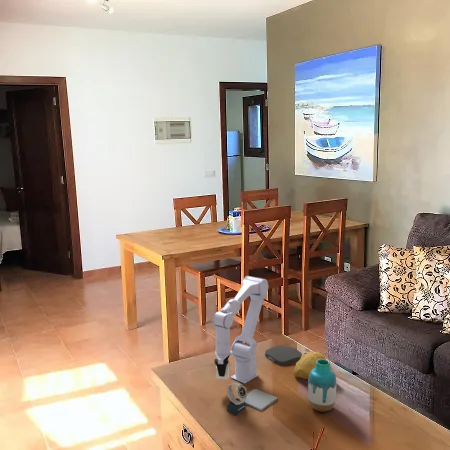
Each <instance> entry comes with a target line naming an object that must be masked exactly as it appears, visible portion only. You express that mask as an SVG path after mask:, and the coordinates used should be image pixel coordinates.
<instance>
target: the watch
mask: <svg viewBox="0 0 450 450" xmlns="http://www.w3.org/2000/svg"><path fill="white" fill-rule="evenodd" d="M232 386H234V389H235V395H236V397H235V395H234V392H233V388H232ZM226 391H227V392H226V393H227V396H228V398H229V400H230V402H228V403H227V404H226V405H227V406H226V408H227V409H226V411H227V412H228V413H230V414H232V415H234V416H237V415H239V414H240V413H242V412H244V411H245V410H246V404H245V402H244V401H245V400H246V396H247V394H248V389H247V387H246V386H244V385H243V384H242V382H239V381H233V382H231V383H229V385H228V386H227V390H226Z"/></svg>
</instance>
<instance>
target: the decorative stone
mask: <svg viewBox="0 0 450 450" xmlns="http://www.w3.org/2000/svg"><path fill="white" fill-rule="evenodd" d="M318 359H326V357H325V356H324V355H323V354H322V353H321V352H317V351H313V350H312V351H309V352H308V353H304V354H302V356H301V359H300V360H299V361H298V362H295V367H294V370H293V376H294V378H302V379H304V380H308V379H309V374H310V372H311V370H312V369H314V368H315V366H316V361H317V360H318ZM326 360H327V359H326ZM330 369H331V370H332V371H333V372H334V369H333V368H332V366H331V365H330Z"/></svg>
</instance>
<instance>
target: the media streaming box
mask: <svg viewBox="0 0 450 450" xmlns="http://www.w3.org/2000/svg"><path fill="white" fill-rule="evenodd" d="M302 353H303V352H301V351H299V350H298V349H296V348H295V347H292V346H289V345H275V346H272V347H270V348H267V349H266V350H265V351H264V356H265V358H266V359H267V360H269V361H271V362H273V363H274V364H276V365H277V366H287V365H292V364H296V363H297V362H298V361H299V360H300V359H301V356H303V354H302Z"/></svg>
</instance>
